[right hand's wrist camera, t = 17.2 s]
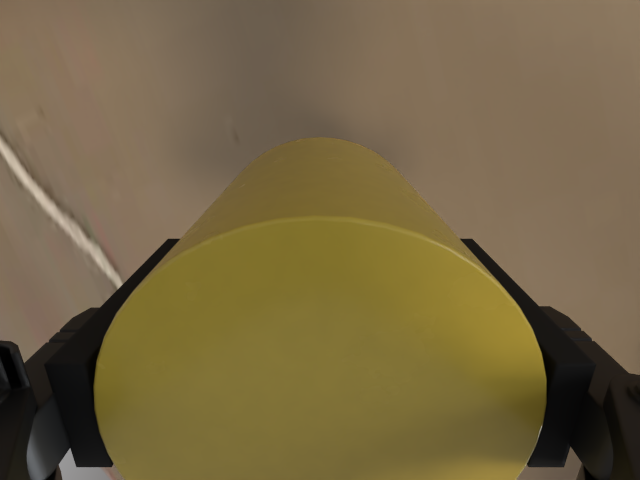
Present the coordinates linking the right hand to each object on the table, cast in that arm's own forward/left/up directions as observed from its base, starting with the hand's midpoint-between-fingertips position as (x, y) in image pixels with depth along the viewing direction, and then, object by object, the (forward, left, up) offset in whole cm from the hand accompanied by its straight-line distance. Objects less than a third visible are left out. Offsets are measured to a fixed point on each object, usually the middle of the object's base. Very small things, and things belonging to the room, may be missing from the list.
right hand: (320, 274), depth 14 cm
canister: (0, 0, -4) cm, 4 cm away
